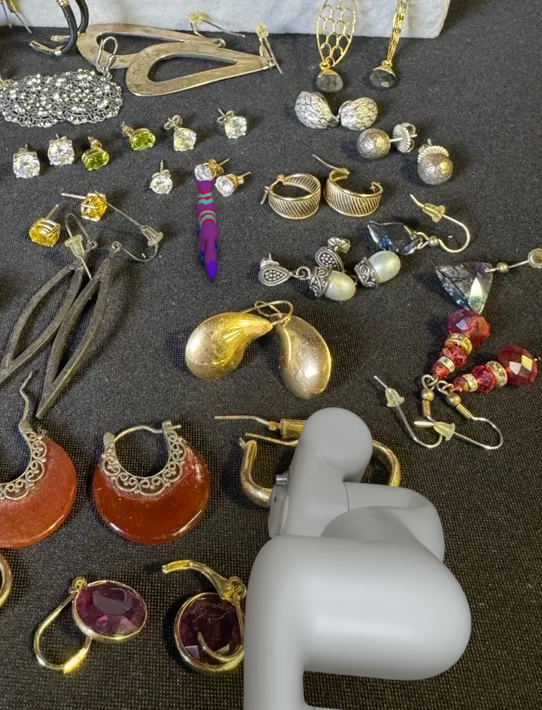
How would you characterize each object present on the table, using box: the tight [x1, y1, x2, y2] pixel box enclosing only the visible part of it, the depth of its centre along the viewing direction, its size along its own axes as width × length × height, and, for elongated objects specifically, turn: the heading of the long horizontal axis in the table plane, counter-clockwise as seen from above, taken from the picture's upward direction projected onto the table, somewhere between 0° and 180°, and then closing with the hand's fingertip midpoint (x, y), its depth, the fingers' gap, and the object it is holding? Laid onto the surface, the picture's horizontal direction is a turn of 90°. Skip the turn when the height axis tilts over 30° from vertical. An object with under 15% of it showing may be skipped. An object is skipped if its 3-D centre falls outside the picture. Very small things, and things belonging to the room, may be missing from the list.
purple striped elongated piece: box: [194, 178, 220, 280], centre depth 140 cm, size 4×18×10 cm, turn 4°
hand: (299, 541), depth 106 cm, fingers closed
